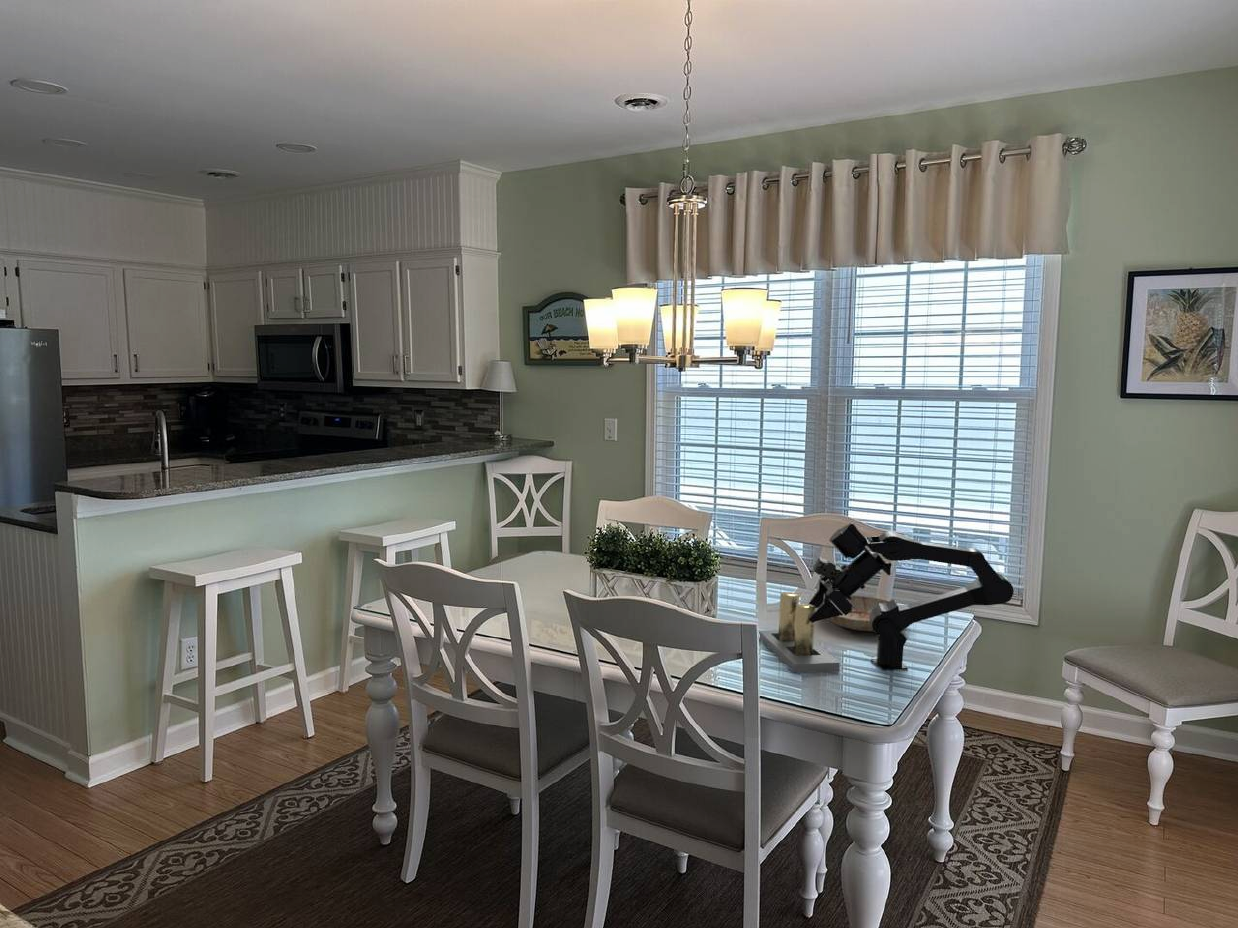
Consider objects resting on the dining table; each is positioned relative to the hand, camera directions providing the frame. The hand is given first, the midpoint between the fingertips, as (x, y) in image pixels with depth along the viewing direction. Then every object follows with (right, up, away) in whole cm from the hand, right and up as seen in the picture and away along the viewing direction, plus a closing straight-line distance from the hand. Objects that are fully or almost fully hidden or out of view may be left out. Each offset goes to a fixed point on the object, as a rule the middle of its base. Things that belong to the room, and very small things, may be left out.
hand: (808, 615), depth 203 cm
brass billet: (-1, -11, +1) cm, 11 cm away
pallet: (-2, -10, +5) cm, 12 cm away
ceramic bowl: (+21, -8, +30) cm, 38 cm away
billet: (-3, -9, +11) cm, 15 cm away
